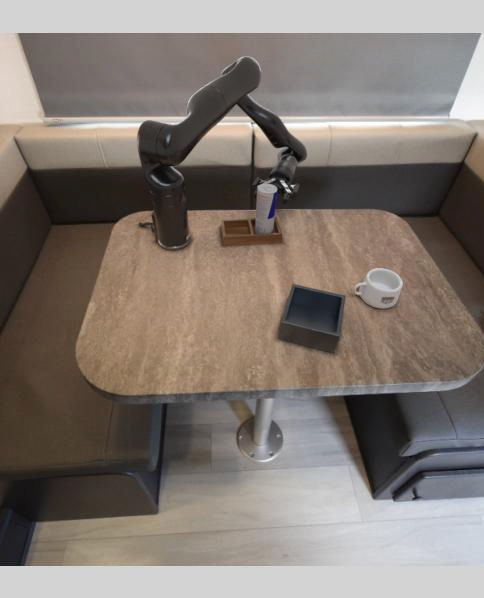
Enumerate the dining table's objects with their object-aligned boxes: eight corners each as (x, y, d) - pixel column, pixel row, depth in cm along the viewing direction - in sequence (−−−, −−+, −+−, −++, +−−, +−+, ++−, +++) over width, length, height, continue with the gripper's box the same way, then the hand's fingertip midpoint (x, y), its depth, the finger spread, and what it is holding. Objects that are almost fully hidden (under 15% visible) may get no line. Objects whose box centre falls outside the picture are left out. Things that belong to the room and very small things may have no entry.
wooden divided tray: (221, 227, 110) (220, 219, 108) (275, 225, 112) (276, 217, 109) (223, 245, 104) (223, 237, 101) (281, 242, 105) (282, 234, 103)
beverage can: (271, 239, 105) (276, 194, 95) (253, 237, 106) (255, 191, 95) (274, 229, 109) (278, 184, 98) (256, 226, 110) (259, 181, 99)
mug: (388, 282, 94) (396, 265, 89) (402, 309, 87) (412, 292, 83) (344, 284, 93) (350, 267, 89) (356, 311, 86) (362, 294, 82)
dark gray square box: (289, 301, 88) (292, 283, 84) (339, 313, 86) (345, 295, 81) (278, 339, 80) (280, 321, 75) (333, 353, 77) (339, 336, 73)
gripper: (262, 161, 115) (247, 183, 104) (305, 168, 112) (295, 192, 101) (260, 182, 120) (247, 206, 109) (301, 189, 117) (291, 214, 106)
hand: (270, 199), depth 105 cm, fingers open, 8 cm apart
